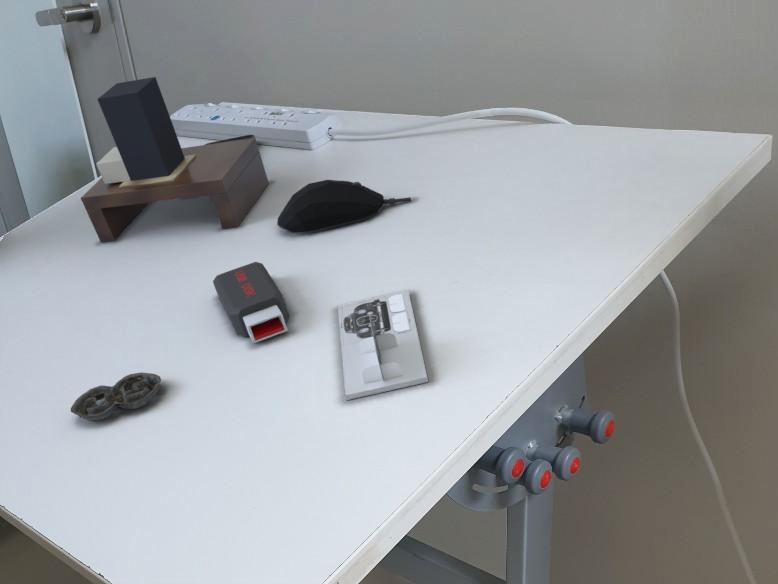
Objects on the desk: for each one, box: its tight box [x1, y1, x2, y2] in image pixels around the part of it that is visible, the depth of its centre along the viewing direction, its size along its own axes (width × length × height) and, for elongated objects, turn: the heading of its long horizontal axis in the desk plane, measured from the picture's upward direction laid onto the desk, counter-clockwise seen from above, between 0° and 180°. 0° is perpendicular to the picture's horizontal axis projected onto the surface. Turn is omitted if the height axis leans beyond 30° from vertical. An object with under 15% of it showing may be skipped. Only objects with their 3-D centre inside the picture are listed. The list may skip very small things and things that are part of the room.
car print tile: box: [337, 289, 429, 401], centre depth 73 cm, size 15×7×4 cm, turn 6°
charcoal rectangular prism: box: [95, 76, 185, 184], centre depth 99 cm, size 8×5×9 cm, turn 79°
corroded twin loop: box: [70, 371, 162, 421], centre depth 75 cm, size 5×8×1 cm, turn 110°
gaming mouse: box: [276, 179, 412, 234], centre depth 94 cm, size 6×15×4 cm, turn 93°
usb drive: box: [212, 261, 290, 344], centre depth 82 cm, size 5×12×3 cm, turn 21°
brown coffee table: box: [80, 137, 270, 243], centre depth 104 cm, size 18×12×6 cm, turn 79°
